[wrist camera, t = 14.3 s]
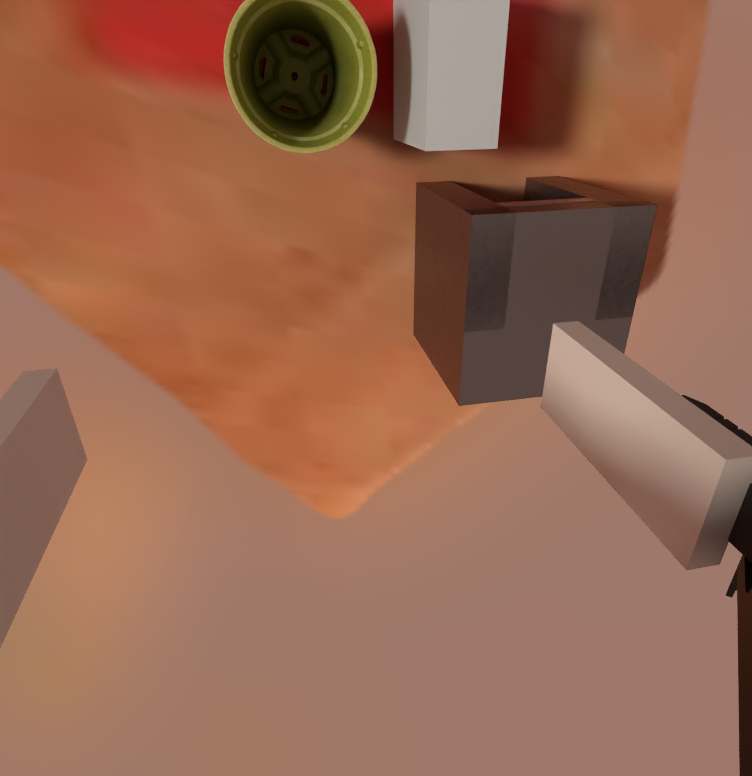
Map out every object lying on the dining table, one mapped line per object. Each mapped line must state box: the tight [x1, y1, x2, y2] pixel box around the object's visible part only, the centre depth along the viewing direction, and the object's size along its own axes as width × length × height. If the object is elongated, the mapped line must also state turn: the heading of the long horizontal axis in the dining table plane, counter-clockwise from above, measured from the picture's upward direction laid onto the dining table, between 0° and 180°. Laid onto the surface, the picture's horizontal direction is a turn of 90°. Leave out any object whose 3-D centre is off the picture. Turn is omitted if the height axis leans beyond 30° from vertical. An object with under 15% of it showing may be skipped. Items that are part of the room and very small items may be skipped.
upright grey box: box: [394, 0, 510, 151], centre depth 38 cm, size 10×5×10 cm, turn 1°
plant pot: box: [224, 0, 377, 153], centre depth 37 cm, size 9×9×9 cm
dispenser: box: [414, 176, 657, 406], centre depth 45 cm, size 14×13×14 cm
